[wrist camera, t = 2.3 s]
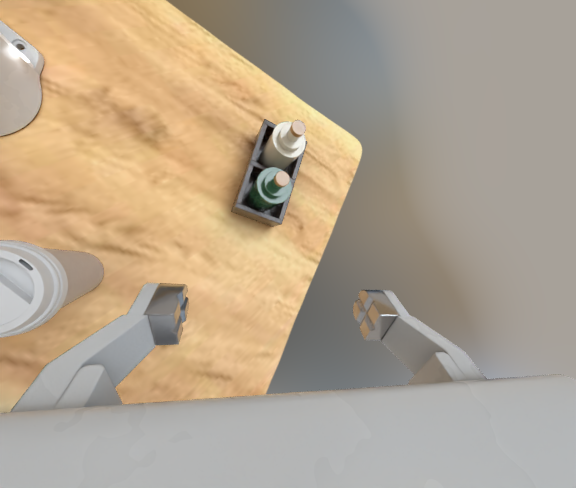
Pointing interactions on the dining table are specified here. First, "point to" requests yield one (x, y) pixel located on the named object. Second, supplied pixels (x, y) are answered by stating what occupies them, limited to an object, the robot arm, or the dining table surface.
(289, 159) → the cream bottle
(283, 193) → the green bottle
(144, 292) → the robot arm
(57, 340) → the dining table surface
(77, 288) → the coffee cup
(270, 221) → the caddy
